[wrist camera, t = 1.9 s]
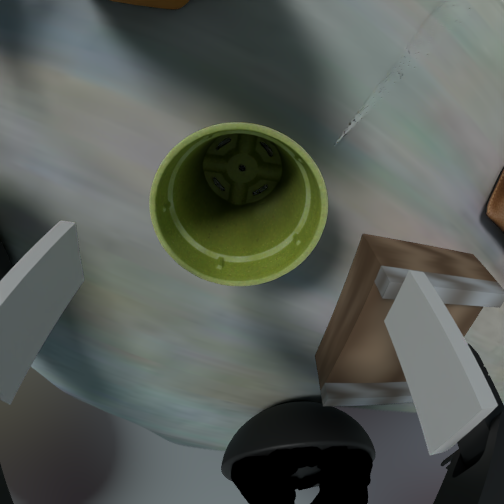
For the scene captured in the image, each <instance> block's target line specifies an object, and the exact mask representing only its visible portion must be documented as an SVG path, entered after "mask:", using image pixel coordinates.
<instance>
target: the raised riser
mask: <svg viewBox="0 0 504 504" xmlns="http://www.w3.org/2000/svg"><path fill="white" fill-rule="evenodd" d="M409 270H412V271H419V272H424V273H425V275H426V276H427V278H428V279H429V281H430V282H431V284H432V286H433V287H434V289H435V290H436V292H437V293H438V295H439V297H440V298H441V300H442V301H443V303H444V305H445V306H446V308H447V309H448V311H449V313H450V314H451V316H452V318H453V319H454V321H455V323H456V325H457V326H458V328H459V330H460V332H461V333H462V335H463V337H464V336H465V334H466V333H467V331H468V330H469V328H470V327H471V325H472V324H473V322H474V321H475V319H476V318H477V316H478V314H479V313H480V311H481V310H482V308H483V306H485V307H501V305H502V304H503V302H504V289H503V288H502V287H501V286H500V285H499V283H498V282H497V281H496V280H495V279H494V277H493V276H492V275H491V274H490V273H489V272H488V270H487V269H486V268H485V267H484V266H483V265H482V264H481V262H480V261H479V260H478V259H477V258H476V257H475V256H474V255H473V254H468V253H463V252H458V251H453V250H448V249H443V248H438V247H433V246H428V245H422V244H417V243H412V242H406V241H401V240H395V239H390V238H384V237H379V236H373V235H367V234H363V235H362V237H361V240H360V243H359V246H358V249H357V252H356V255H355V257H354V260H353V263H352V266H351V268H350V271H349V274H348V277H347V279H346V282H345V284H344V287H343V290H342V292H341V295H340V297H339V300H338V302H337V305H336V307H335V310H334V312H333V315H332V317H331V320H330V322H329V324H328V327H327V329H326V332H325V334H324V336H323V339H322V341H321V343H320V345H319V348H318V350H317V352H316V354H315V359H316V365H317V371H318V377H319V384H320V390H321V397H322V403H323V406H364V405H383V404H397V403H408V402H413V399H412V396H411V393H410V390H409V387H408V384H407V381H406V378H405V375H404V372H403V370H402V367H401V364H400V361H399V359H398V356H397V353H396V351H395V348H394V345H393V343H392V340H391V337H390V335H389V332H388V330H387V327H386V325H385V322H384V320H385V318H386V316H387V314H388V312H389V310H390V309H391V307H392V305H393V303H394V301H395V299H396V297H397V294H398V292H399V290H400V288H401V286H402V284H403V282H404V280H405V278H406V275H407V273H408V271H409Z"/></svg>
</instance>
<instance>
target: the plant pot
mask: <svg viewBox="0 0 504 504" xmlns="http://www.w3.org/2000/svg"><path fill="white" fill-rule="evenodd" d="M226 138H231V141H230V142H228V143H227V144H225V145H224V146H222V147H221V148H219V150H216V149H217V146H218V145H219V143H220V142H221V141H223V140H224V139H226ZM261 142H262V143H265V144H267V145H268V147H269V148H270V149H271V150H272V152H273V156H272V157H270V156H269V154H268V152H267V151H266V150H265V148H264V147H263V146H262V145H261ZM240 165H244V166H245V171H240V169H239V166H240ZM213 177H216V179H217V180H218V181H219V183H220V184H221V185H222V186H223V187H224V188H225V191H221V190H220V189H219V188H218V186H216V185H215V184H214V182H213V180H212V179H213ZM265 184H267V185H268V187H267V189H266V190H265V191H263V192H261V193H260V194H257V195H253V192H254V191H256V190H258V189H260V188H261V187H262V186H263V185H265ZM149 204H150V215H151V220H152V224H153V227H154V230H155V233H156V235H157V237H158V239H159V241H160V243H161V245H162V246H163V248H164V249H165V251H166V252H167V253H168V254H169V255H170V256H171V257H172V258H173V259H174V260H175V262H177V263H178V264H179V265H180V266H181V267H183V268H184V269H186V270H187V271H189V272H191V273H192V274H194V275H195V276H197V277H199V278H202V279H204V280H206V281H210V282H214V283H217V284H221V285H227V286H251V285H258V284H262V283H266V282H269V281H272V280H275V279H277V278H279V277H281V276H283V275H285V274H287V273H288V272H290V271H291V270H293V269H294V268H296V267H297V266H298V265H300V264H301V263H302V262H303V261H304V260H305V259H306V258H307V257H308V256H309V255H310V253H311V252H312V251H313V249H314V248H315V246H316V245H317V243H318V241H319V239H320V237H321V235H322V233H323V230H324V227H325V224H326V221H327V215H328V195H327V189H326V185H325V182H324V179H323V177H322V174H321V172H320V170H319V168H318V166H317V165H316V163H315V162H314V160H313V159H312V158H311V156H310V155H309V154H308V153H307V152H306V151H305V150H304V149H303V148H302V147H301V146H300V145H299V144H298V143H296V142H295V141H294V140H292V139H291V138H289V137H288V136H286V135H284V134H283V133H281V132H279V131H277V130H274V129H272V128H269V127H266V126H263V125H258V124H253V123H245V122H229V123H221V124H216V125H213V126H209V127H206V128H203V129H201V130H199V131H197V132H195V133H193V134H191V135H190V136H188V137H186V138H185V139H184V140H182V141H181V142H180V143H178V144H177V145H176V146H175V147H174V148H173V149H172V150H171V151H170V152H169V153H168V154H167V156H166V157H165V158H164V160H163V161H162V163H161V164H160V166H159V168H158V170H157V172H156V174H155V177H154V180H153V183H152V187H151V191H150V201H149Z"/></svg>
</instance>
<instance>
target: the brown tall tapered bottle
mask: <svg viewBox="0 0 504 504" xmlns="http://www.w3.org/2000/svg"><path fill="white" fill-rule="evenodd" d="M110 1H114V2H121V3H127V4H133V5H139V6H148V7H154V8H163V9H180V8H181V7H183V6H184V5H185V4H187V3H188V2H189V0H110Z"/></svg>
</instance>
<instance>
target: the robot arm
mask: <svg viewBox="0 0 504 504" xmlns="http://www.w3.org/2000/svg"><path fill="white" fill-rule="evenodd" d="M84 280H85V279H84V274H83V268H82V262H81V256H80V250H79V243H78V236H77V228H76V222H69V221H61V220H60V221H59V222H58V223H57V224H56V225H55V226H54V227H53V228H52V229H51V230H50V231H48V232H47V233H46V234H45V235H44V236H43V237H42V238H41V239H40V240H39V241H38V242H37V243H36V244H35V245H34V246H33V247H32V248H31V249H30V250H29V251H28V252H27V253H26V254H25V255H24V256H23V257H22V258H21V259H20V260H19V261H18V262H17V263H16V264H15V265H14V267H13V268H12V265H11V262H10V260H9V257H8V255H7V253H6V250H5V248H4V246H3V245H2V243H1V241H0V400H2V401H4V402H6V403H8V404H11V402H12V400H13V398H14V396H15V394H16V392H17V390H18V389H19V386H20V385H21V383H22V381H23V379H24V377H25V375H26V374H27V371H28V370H29V368H30V366H31V364H32V363H33V361H34V359H35V357H36V356H37V354H38V352H39V350H40V349H41V347H42V345H43V344H44V342H45V340H46V339H47V337H48V335H49V334H50V332H51V330H52V329H53V327H54V326H55V324H56V322H57V321H58V319H59V318H60V316H61V315H62V313H63V311H64V310H65V308H66V307H67V305H68V304H69V302H70V301H71V299H72V298H73V296H74V295H75V293H76V292H77V290H78V289H79V287H80V286H81V285H82V283H83V282H84ZM384 322H385V325H386V327H387V330H388V332H389V335H390V337H391V340H392V343H393V345H394V348H395V351H396V353H397V356H398V359H399V361H400V364H401V367H402V370H403V372H404V375H405V378H406V381H407V384H408V387H409V390H410V393H411V396H412V399H413V402H414V405H415V408H416V411H417V414H418V417H419V420H420V424H421V427H422V431H423V434H424V438H425V441H426V445H427V448H428V452H429V455H433V454H437V453H441V452H446V451H447V450H449V449H450V448H451V447H452V446H454V445H455V444H456V443H458V446H459V449H458V450H457V451H456V452H454V453H453V454H452V455H450V456H449V457H448V458H446V459H445V460H444V461H443V462H442V463H441V466H444V465H445V464H447V463H448V462H449V461H451V463H450V465H448V466H447V467H446V469H448V471H447V473H446V476H445V478H444V480H443V483H442V485H441V487H440V490H439V492H438V494H437V497H436V499H435V501H434V503H433V504H504V405H503V403H502V401H501V398H500V396H499V394H498V392H497V390H496V388H495V386H494V384H493V382H492V380H491V378H490V376H488V372H487V370H486V368H485V367H484V366H483V365H484V364H483V362H482V360H481V358H480V356H479V355H478V353H477V352H476V351H475V350H474V349H473V348H472V346H471V345H470V344H467V342H466V340H465V339H464V337H463V335H462V333H461V332H460V330H459V328H458V326H457V325H456V323H455V321H454V319H453V318H452V316H451V314H450V313H449V311H448V309H447V308H446V306H445V305H444V303H443V301H442V300H441V298H440V297H439V295H438V293H437V292H436V290H435V289H434V287H433V286H432V284H431V282H430V281H429V279H428V278H427V276H426V275H425V273H424V272H419V271H412V270H409V271H408V273H407V275H406V278H405V280H404V282H403V284H402V286H401V288H400V290H399V292H398V294H397V297H396V299H395V301H394V303H393V305H392V307H391V309H390V310H389V312H388V314H387V316H386V318H385V320H384ZM0 504H14V503H13V501H12V498H11V495H10V492H9V490H8V487H7V484H6V481H5V478H4V475H3V471H2V468H1V464H0Z"/></svg>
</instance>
